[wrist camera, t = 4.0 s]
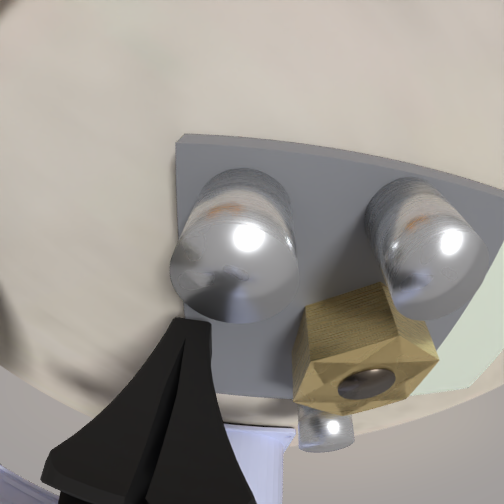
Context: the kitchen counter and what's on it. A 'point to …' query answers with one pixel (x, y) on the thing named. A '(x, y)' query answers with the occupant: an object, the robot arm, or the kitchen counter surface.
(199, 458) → the robot arm
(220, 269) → the cylinder
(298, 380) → the brass nut
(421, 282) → the cylinder
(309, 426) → the cylinder
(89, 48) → the kitchen counter surface
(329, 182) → the board
